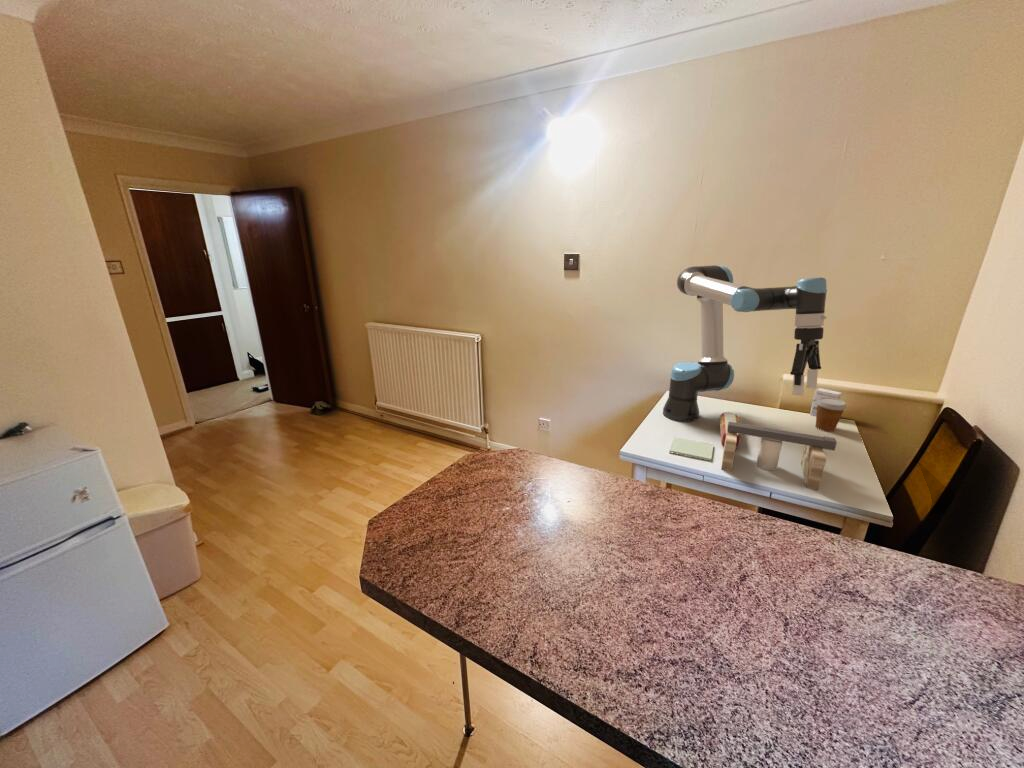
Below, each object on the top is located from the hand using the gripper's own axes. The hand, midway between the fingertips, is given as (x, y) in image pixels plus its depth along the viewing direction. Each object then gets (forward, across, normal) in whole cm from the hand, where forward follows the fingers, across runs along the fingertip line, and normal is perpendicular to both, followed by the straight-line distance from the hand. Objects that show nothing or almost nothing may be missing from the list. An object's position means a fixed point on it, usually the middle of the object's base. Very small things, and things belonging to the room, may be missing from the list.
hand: (804, 391), depth 133 cm
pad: (+23, -16, +30) cm, 41 cm away
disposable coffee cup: (+23, +41, +3) cm, 47 cm away
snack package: (+22, +5, +26) cm, 34 cm away
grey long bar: (+15, -8, +4) cm, 18 cm away
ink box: (+21, +54, +8) cm, 59 cm away
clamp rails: (+26, -8, +8) cm, 28 cm away
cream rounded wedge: (+26, -8, +8) cm, 28 cm away
